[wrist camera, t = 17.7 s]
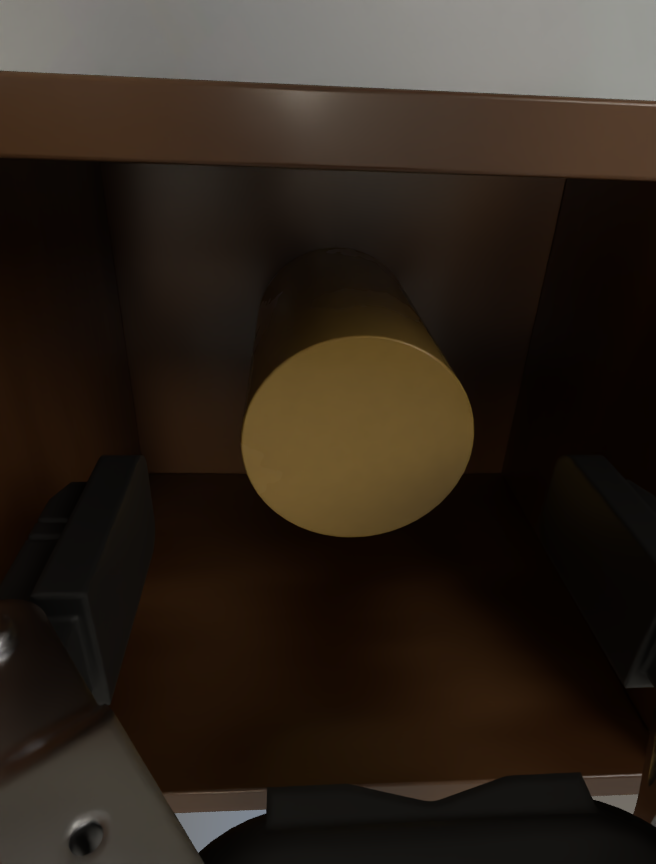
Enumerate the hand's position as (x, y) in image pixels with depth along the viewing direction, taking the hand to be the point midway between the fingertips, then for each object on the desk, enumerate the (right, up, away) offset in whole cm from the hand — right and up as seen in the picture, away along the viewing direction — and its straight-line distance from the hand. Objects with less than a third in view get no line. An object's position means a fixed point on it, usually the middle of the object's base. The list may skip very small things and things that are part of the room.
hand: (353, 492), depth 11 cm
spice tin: (0, +5, +8) cm, 10 cm away
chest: (0, +5, +9) cm, 10 cm away
